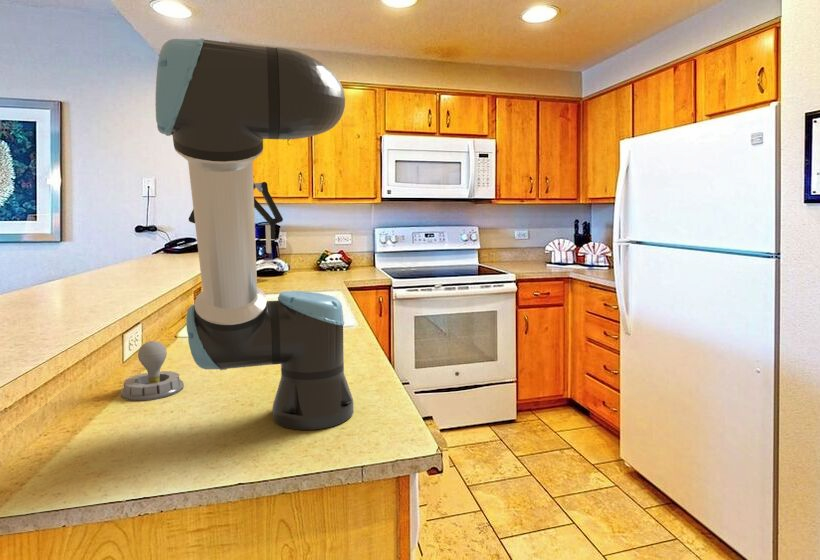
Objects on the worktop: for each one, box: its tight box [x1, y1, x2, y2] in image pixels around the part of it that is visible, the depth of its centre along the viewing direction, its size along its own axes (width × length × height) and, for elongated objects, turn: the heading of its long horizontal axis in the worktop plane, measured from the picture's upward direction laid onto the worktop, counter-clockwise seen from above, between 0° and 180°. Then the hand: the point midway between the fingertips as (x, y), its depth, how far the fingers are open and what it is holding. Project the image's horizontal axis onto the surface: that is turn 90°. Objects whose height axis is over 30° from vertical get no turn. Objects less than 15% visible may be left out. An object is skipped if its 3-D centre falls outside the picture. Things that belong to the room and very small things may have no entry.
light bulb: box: [137, 340, 168, 384], centre depth 106 cm, size 6×5×10 cm
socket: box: [120, 370, 184, 402], centre depth 106 cm, size 12×12×3 cm
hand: (238, 253), depth 114 cm, fingers open, 13 cm apart
